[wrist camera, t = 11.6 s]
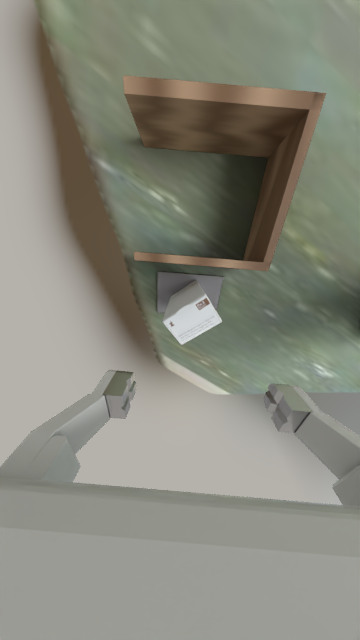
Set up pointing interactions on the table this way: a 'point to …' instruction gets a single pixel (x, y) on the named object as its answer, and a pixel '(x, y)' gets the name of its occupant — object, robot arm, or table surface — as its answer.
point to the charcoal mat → (177, 281)
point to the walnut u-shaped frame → (231, 144)
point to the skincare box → (190, 313)
